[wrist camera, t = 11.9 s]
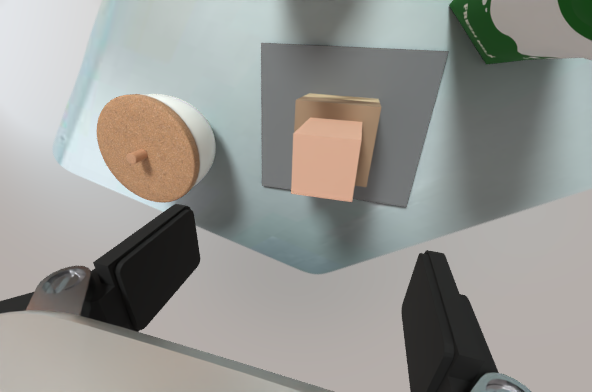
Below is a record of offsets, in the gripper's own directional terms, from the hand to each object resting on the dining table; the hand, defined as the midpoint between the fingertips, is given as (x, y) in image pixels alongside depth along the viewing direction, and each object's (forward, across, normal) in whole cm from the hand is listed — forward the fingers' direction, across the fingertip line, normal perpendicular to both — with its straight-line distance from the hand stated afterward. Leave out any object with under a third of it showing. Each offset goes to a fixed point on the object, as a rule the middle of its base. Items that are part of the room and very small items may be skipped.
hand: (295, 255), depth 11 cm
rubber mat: (+25, +1, 0) cm, 25 cm away
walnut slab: (+21, +1, 0) cm, 21 cm away
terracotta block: (+18, +1, 0) cm, 18 cm away
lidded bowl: (+25, +22, +4) cm, 33 cm away
